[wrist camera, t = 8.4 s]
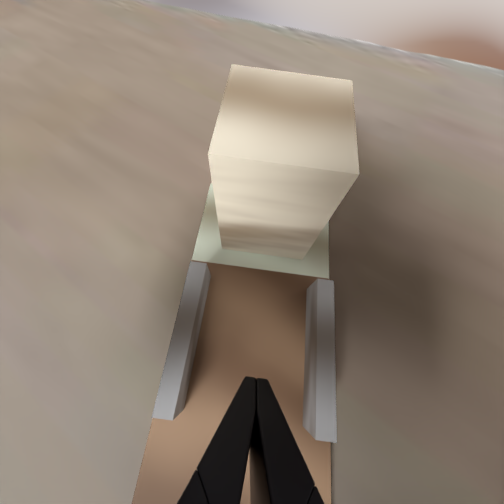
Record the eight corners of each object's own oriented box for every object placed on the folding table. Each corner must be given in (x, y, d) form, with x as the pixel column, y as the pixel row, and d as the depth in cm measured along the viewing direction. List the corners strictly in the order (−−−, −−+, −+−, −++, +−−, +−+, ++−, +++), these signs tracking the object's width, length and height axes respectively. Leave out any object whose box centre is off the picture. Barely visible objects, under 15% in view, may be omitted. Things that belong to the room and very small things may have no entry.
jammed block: (302, 259, 18) (359, 174, 9) (221, 248, 18) (207, 153, 9) (305, 194, 20) (352, 80, 12) (234, 184, 20) (232, 64, 12)
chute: (326, 571, 12) (356, 646, 9) (126, 543, 12) (87, 608, 9) (325, 204, 21) (340, 179, 18) (211, 189, 21) (207, 161, 18)
